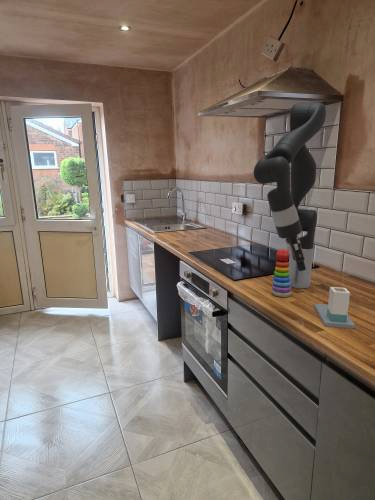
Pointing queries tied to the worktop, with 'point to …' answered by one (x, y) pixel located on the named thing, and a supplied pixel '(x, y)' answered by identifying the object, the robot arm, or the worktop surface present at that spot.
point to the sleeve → (338, 304)
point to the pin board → (326, 321)
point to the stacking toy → (282, 275)
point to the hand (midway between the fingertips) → (299, 264)
